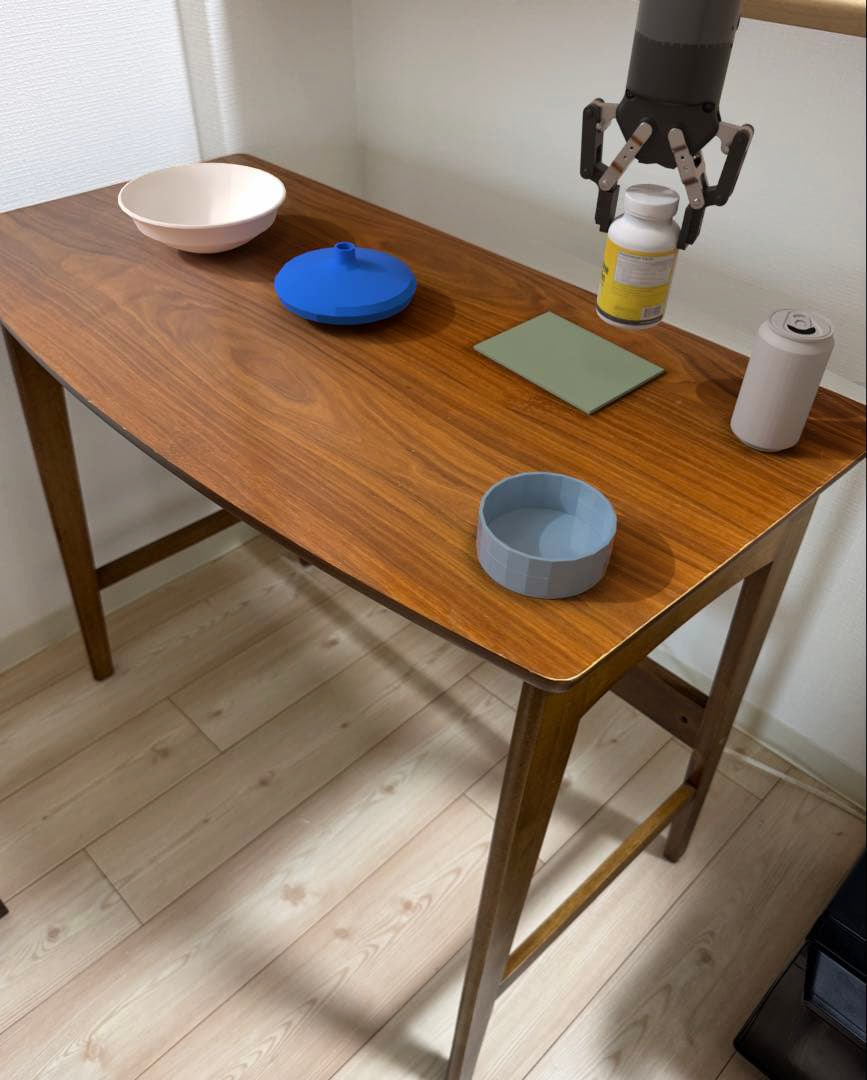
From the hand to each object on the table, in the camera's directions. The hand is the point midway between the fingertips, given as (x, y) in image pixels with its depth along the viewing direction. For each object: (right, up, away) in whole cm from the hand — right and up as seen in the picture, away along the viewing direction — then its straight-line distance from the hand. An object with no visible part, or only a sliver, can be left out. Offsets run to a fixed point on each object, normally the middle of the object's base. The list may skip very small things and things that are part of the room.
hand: (644, 237), depth 80 cm
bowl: (-47, +10, +33) cm, 58 cm away
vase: (-29, -1, +22) cm, 36 cm away
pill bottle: (0, -6, +5) cm, 8 cm away
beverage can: (+12, -17, +6) cm, 22 cm away
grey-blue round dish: (-10, -28, -7) cm, 30 cm away
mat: (-5, -8, +15) cm, 17 cm away
